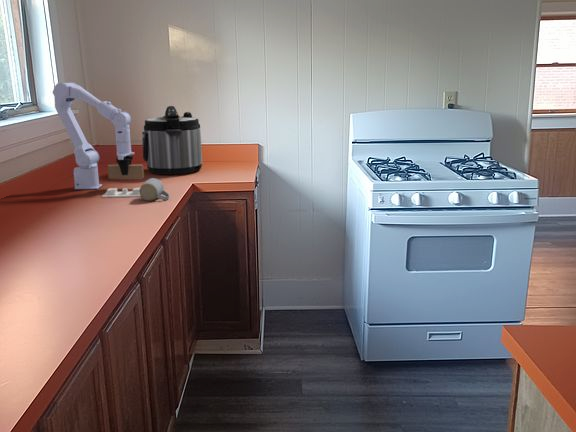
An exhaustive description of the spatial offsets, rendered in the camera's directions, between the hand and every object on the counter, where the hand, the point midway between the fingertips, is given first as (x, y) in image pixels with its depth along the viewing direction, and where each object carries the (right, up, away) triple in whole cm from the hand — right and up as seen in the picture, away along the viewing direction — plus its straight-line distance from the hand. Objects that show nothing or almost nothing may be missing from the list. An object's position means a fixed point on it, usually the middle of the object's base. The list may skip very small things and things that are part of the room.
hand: (125, 174), depth 228 cm
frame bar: (0, -2, 0) cm, 2 cm away
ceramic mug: (+17, -11, -18) cm, 27 cm away
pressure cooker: (+11, +4, +41) cm, 43 cm away
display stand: (+3, -9, -11) cm, 14 cm away
